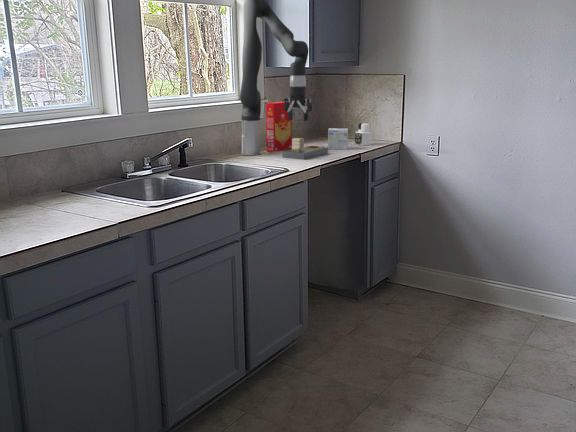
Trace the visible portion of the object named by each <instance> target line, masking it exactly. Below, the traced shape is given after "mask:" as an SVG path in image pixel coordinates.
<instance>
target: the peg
mask: <svg viewBox="0 0 576 432" xmlns="http://www.w3.org/2000/svg"><path fill="white" fill-rule="evenodd" d="M304 142H305V139H304V138H303V137H295V138H292V152H303V151H304V146H305V143H304Z"/></svg>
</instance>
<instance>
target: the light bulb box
mask: <svg viewBox="0 0 576 432" xmlns="http://www.w3.org/2000/svg"><path fill="white" fill-rule="evenodd" d="M327 138H328V139H327V148H328V150H348V148H349V128H347V127H346V128H344V127H343V128H340V127H339V128H338V127H337V128H330V127H329V128H328V130H327Z"/></svg>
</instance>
